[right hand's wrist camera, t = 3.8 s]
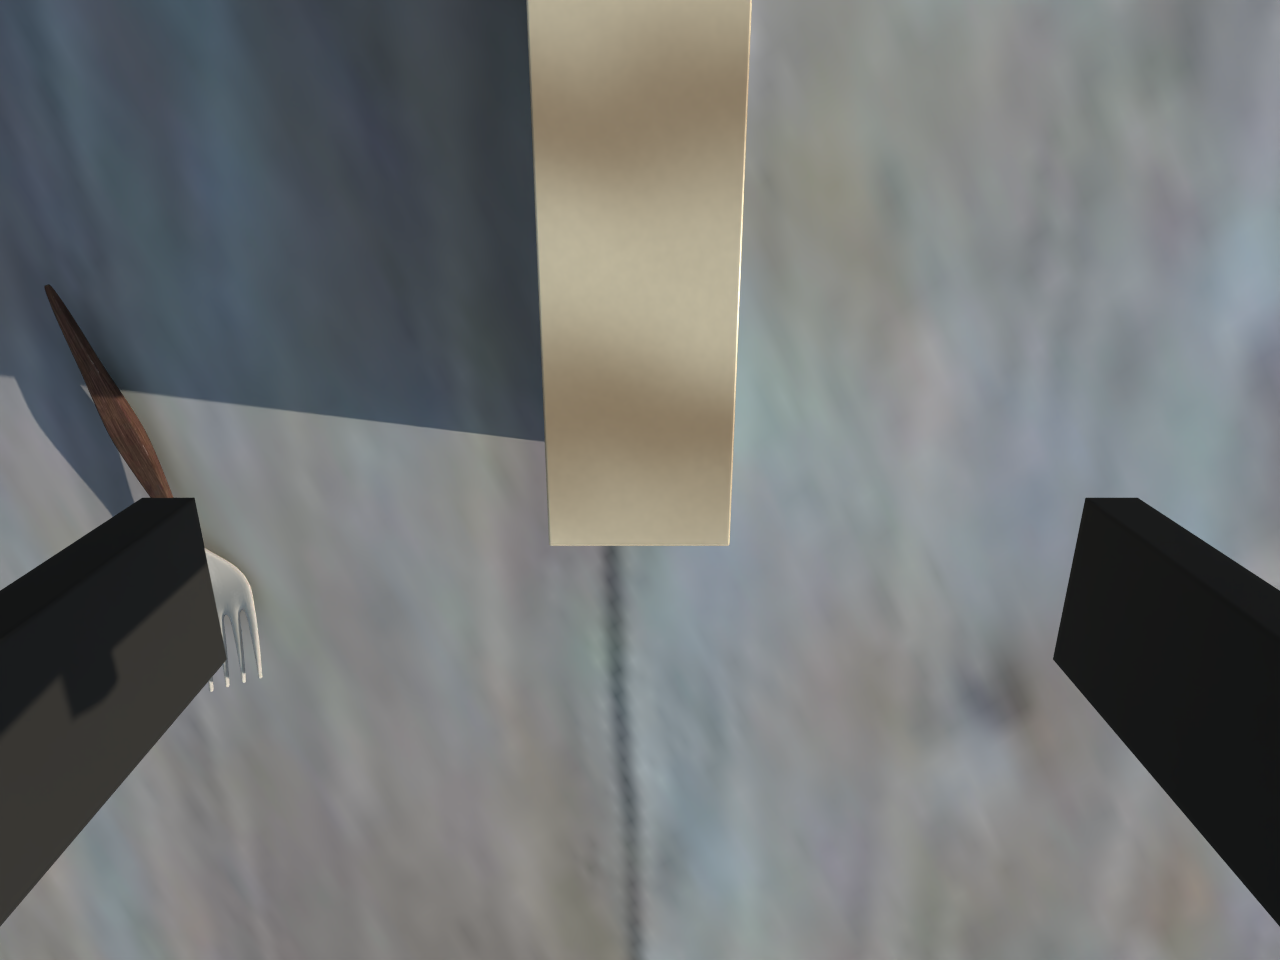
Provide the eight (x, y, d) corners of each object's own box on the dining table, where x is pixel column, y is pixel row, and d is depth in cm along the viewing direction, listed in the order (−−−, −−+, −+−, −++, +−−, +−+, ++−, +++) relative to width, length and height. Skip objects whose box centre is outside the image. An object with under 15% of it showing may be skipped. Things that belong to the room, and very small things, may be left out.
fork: (90, 271, 29) (52, 279, 27) (286, 650, 34) (265, 677, 32) (24, 293, 29) (-19, 302, 27) (229, 665, 35) (205, 694, 33)
